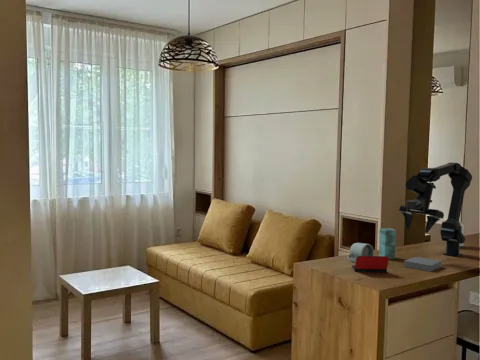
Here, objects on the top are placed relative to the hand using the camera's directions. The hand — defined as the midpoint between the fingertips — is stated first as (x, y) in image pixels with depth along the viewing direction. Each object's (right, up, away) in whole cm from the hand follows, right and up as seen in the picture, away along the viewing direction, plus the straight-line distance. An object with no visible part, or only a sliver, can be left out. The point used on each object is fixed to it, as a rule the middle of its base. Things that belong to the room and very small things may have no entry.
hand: (416, 231), depth 199 cm
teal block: (-10, -13, +8) cm, 18 cm away
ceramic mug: (-24, -13, +3) cm, 28 cm away
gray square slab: (0, -14, -8) cm, 16 cm away
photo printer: (+33, -12, +34) cm, 49 cm away
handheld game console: (-24, -15, -15) cm, 32 cm away
